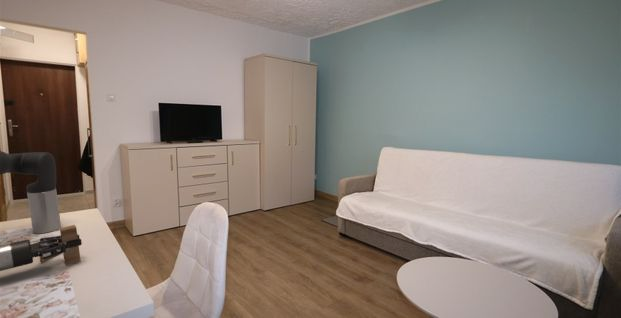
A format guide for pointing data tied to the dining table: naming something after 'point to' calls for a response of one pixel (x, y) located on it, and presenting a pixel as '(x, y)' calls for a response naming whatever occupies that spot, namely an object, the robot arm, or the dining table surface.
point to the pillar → (72, 253)
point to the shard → (45, 259)
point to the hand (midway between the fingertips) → (79, 239)
